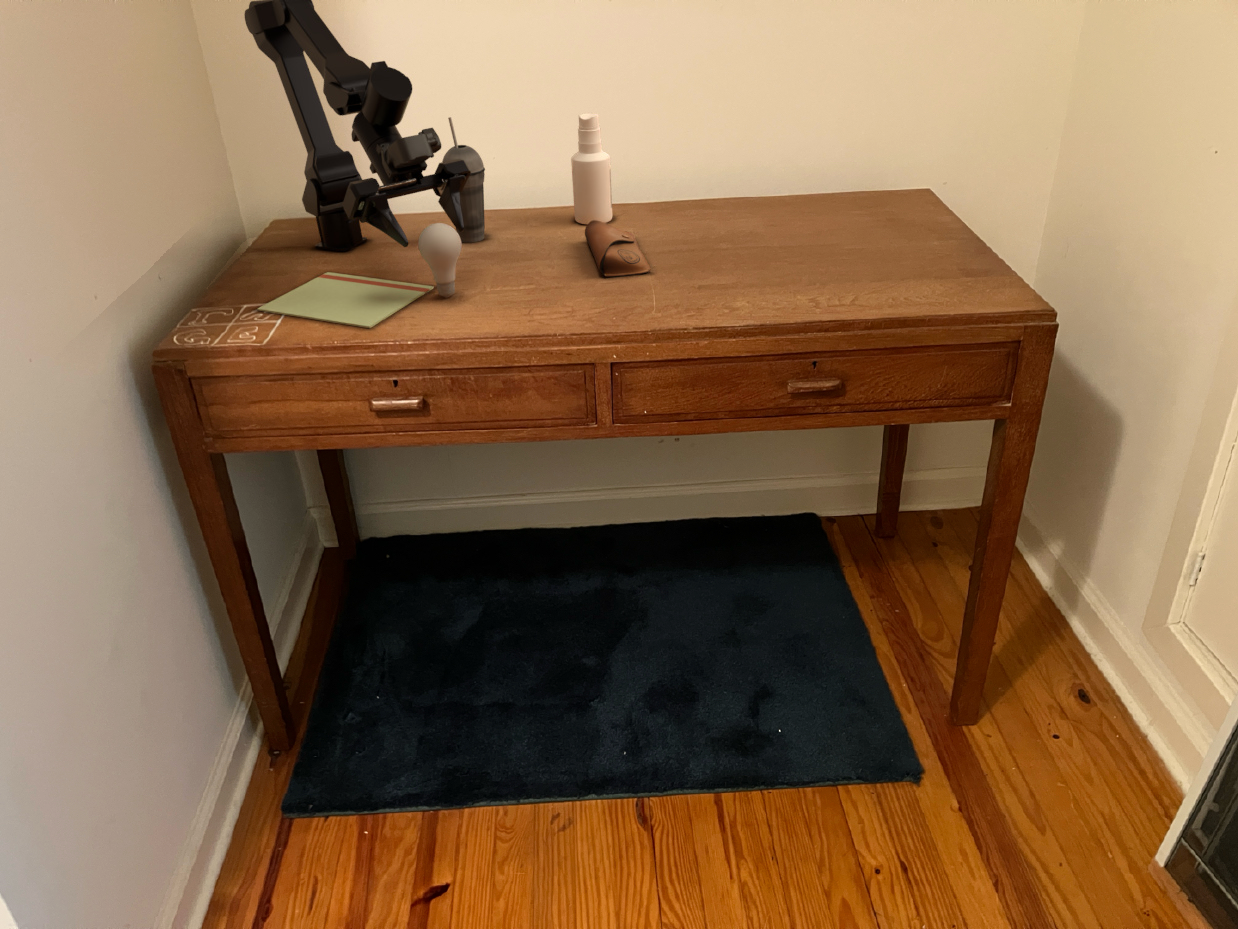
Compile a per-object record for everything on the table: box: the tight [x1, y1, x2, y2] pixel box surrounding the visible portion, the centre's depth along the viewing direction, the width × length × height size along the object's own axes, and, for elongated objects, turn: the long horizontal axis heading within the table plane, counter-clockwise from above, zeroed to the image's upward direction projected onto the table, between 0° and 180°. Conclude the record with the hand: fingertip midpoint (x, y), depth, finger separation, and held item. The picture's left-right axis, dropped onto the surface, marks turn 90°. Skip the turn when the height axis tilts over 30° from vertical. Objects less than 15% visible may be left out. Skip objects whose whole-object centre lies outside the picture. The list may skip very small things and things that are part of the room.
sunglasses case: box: [584, 220, 651, 278], centre depth 147 cm, size 18×7×7 cm
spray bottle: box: [570, 112, 613, 226], centre depth 160 cm, size 7×7×18 cm
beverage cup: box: [441, 116, 486, 243], centre depth 153 cm, size 7×7×20 cm
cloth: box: [257, 271, 435, 329], centre depth 136 cm, size 20×16×1 cm
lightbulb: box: [417, 222, 462, 299], centre depth 132 cm, size 6×6×11 cm
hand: (435, 237), depth 131 cm, fingers open, 9 cm apart
